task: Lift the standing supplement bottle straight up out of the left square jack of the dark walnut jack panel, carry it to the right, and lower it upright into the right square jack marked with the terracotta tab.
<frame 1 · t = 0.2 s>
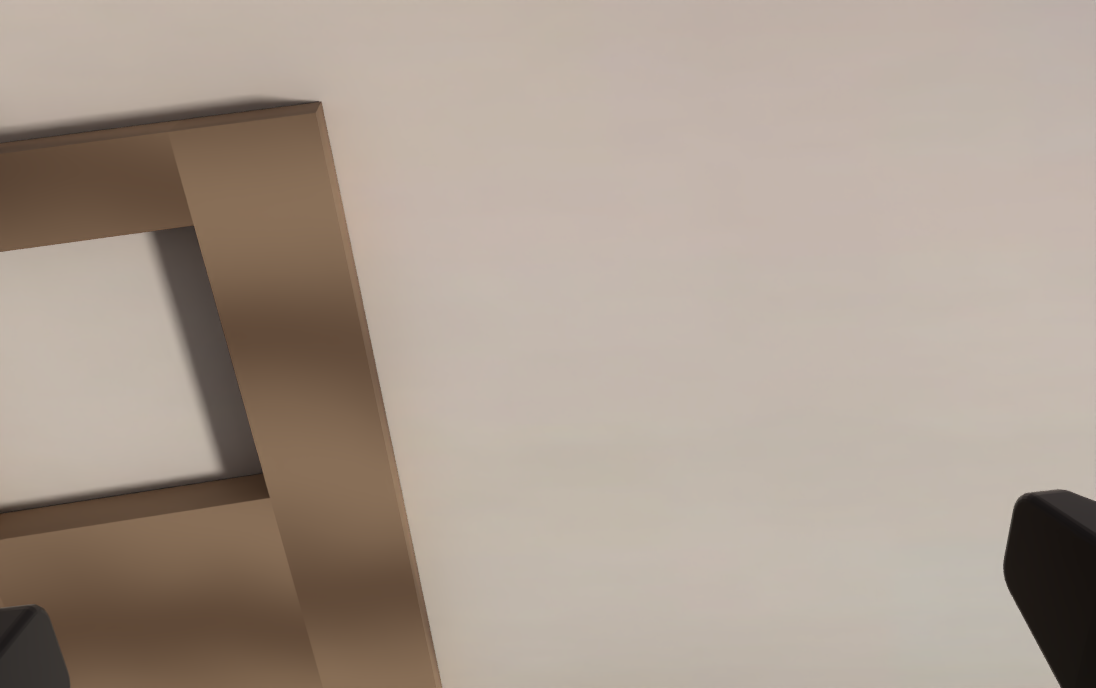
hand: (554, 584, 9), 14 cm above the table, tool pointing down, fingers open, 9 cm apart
jack panel: (180, 614, 26), on the table
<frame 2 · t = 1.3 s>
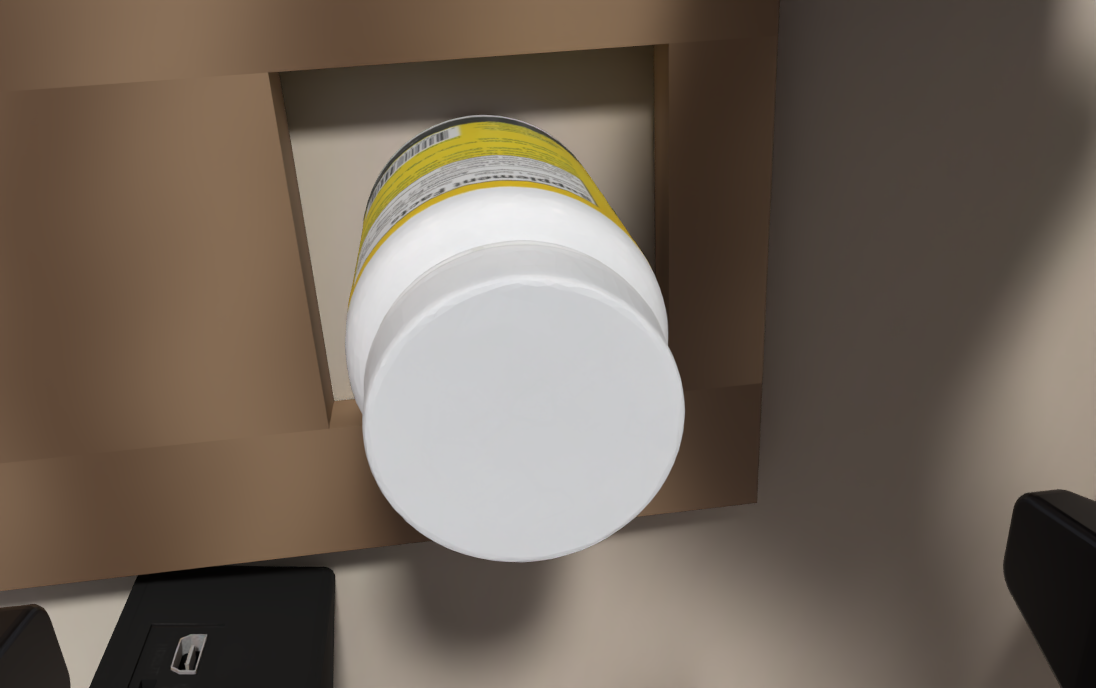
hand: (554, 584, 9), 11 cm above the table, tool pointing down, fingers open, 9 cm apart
supplement bottle: (483, 226, 19), resting in jack panel
jack panel: (99, 263, 18), on the table
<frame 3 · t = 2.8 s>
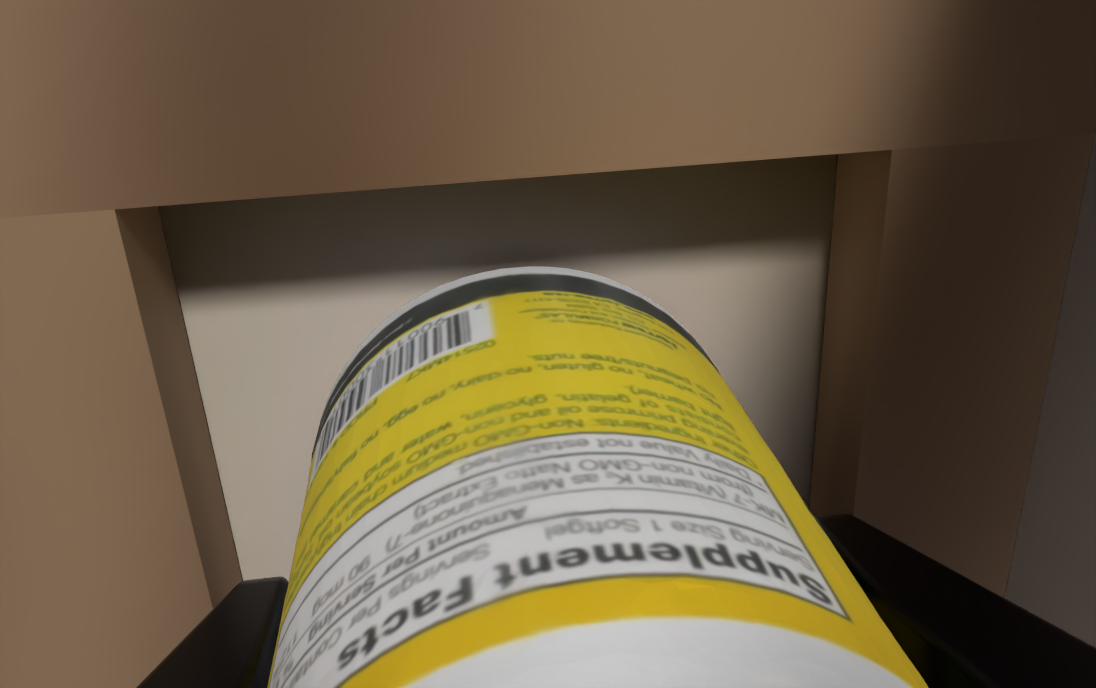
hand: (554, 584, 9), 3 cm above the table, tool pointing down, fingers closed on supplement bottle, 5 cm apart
supplement bottle: (524, 437, 11), resting in jack panel, touching gripper
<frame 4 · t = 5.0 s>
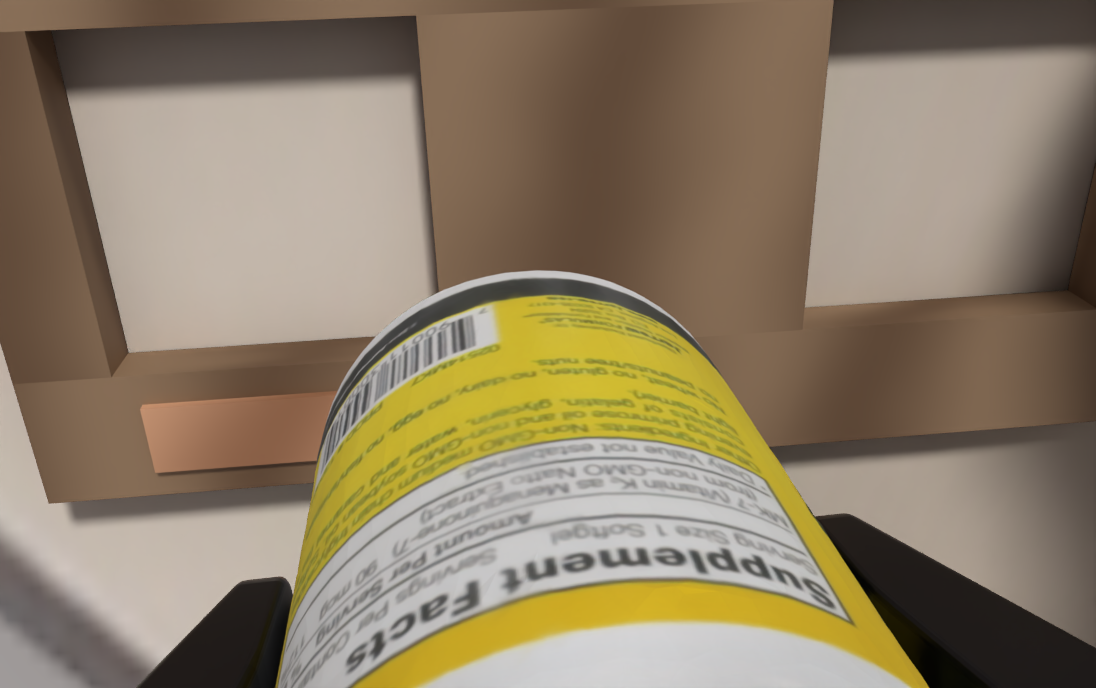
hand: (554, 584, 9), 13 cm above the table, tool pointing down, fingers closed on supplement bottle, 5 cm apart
supplement bottle: (528, 440, 11), point 10 cm above the table, touching gripper
jack panel: (617, 172, 21), on the table
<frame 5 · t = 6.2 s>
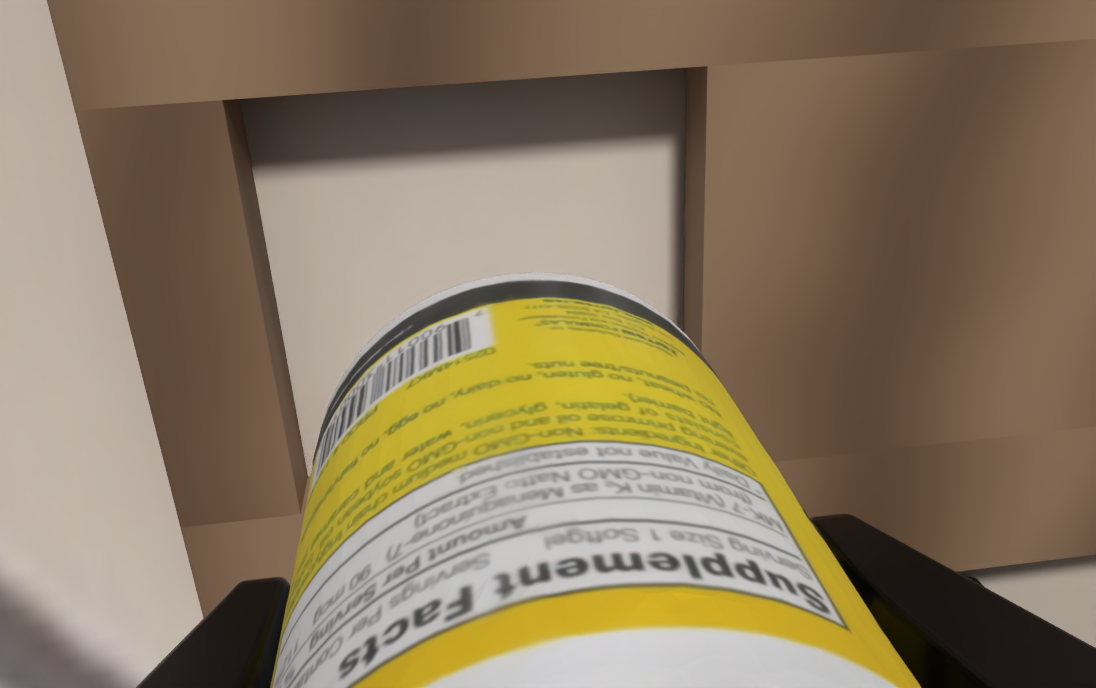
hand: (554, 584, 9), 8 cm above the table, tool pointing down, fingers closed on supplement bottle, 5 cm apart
supplement bottle: (524, 443, 11), point 5 cm above the table, touching gripper
jack panel: (903, 243, 17), on the table
when the fingers open (4 cm above the table, at t = 7.3 s): supplement bottle drops 1 cm, resting in jack panel.
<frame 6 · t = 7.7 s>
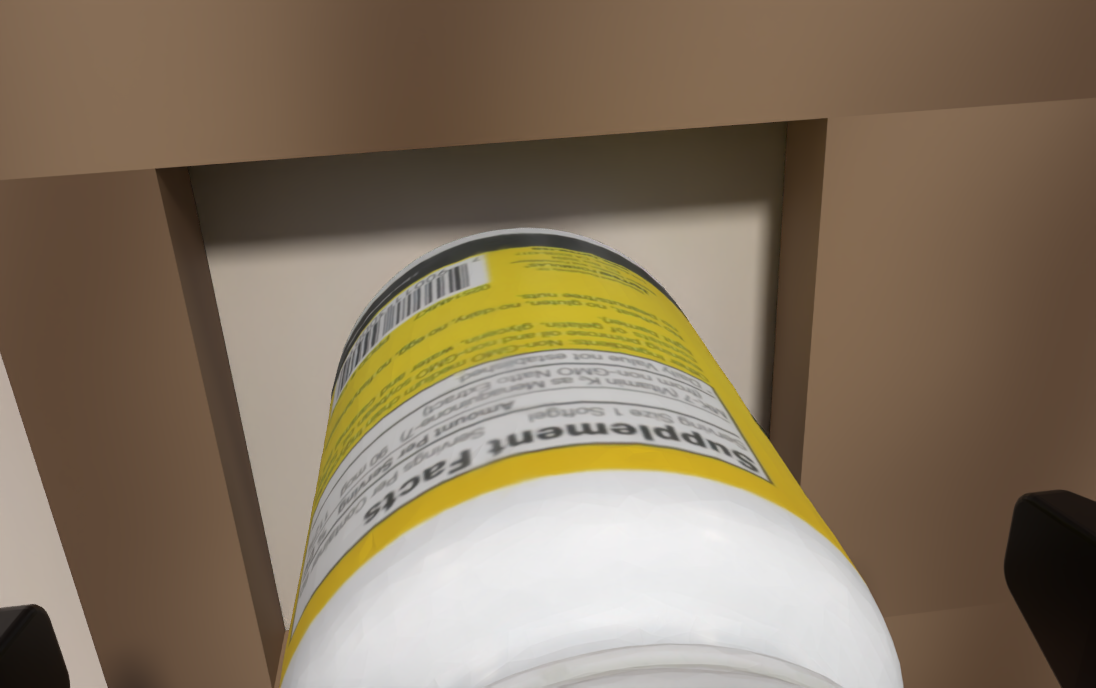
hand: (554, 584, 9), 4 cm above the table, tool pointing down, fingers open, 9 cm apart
supplement bottle: (518, 384, 13), resting in jack panel
jack panel: (1055, 335, 13), on the table
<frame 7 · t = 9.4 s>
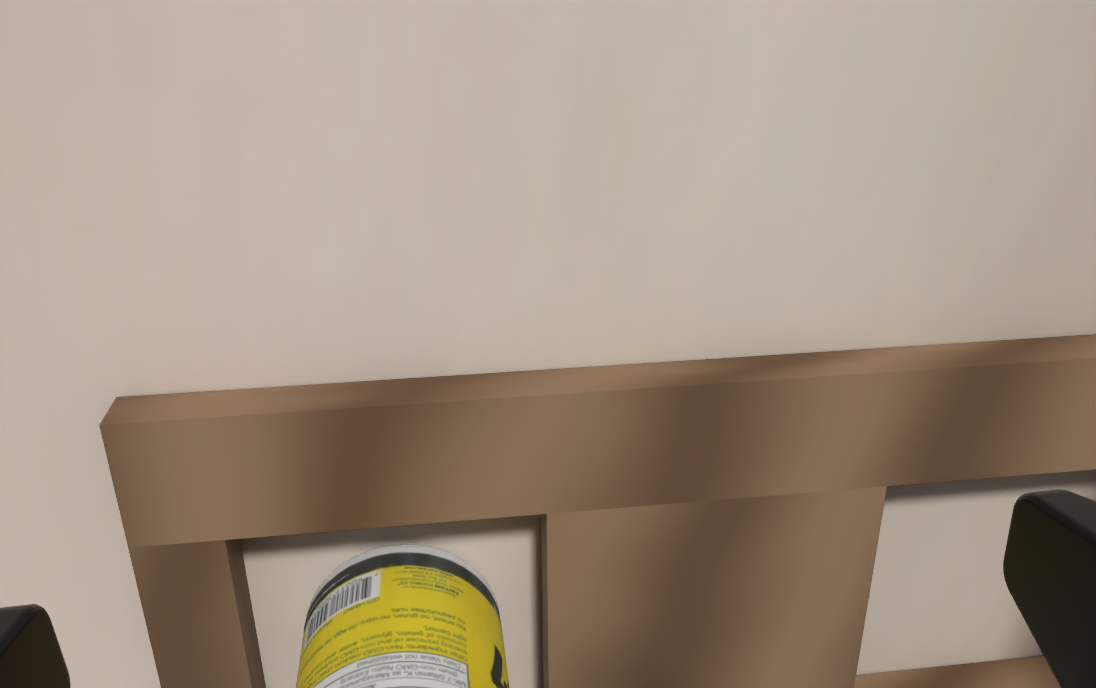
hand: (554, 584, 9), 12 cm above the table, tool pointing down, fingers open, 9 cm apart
supplement bottle: (404, 611, 24), resting in jack panel
jack panel: (697, 588, 24), on the table
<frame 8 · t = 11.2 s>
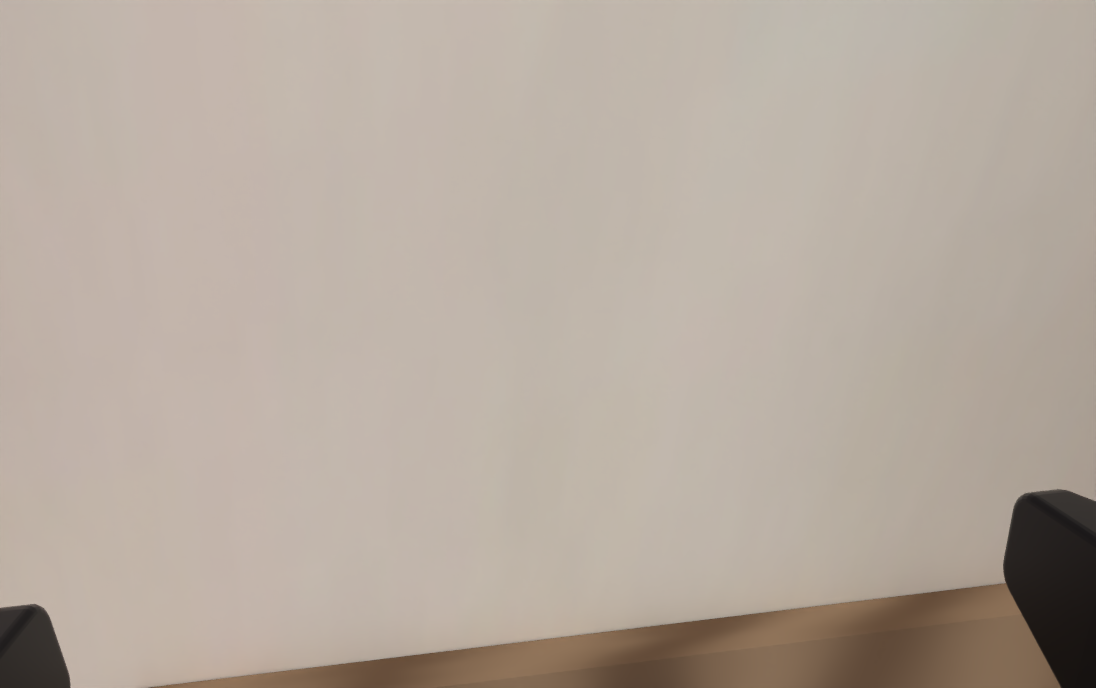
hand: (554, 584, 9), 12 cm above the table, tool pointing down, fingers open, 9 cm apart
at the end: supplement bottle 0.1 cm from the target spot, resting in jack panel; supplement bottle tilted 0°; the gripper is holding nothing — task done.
